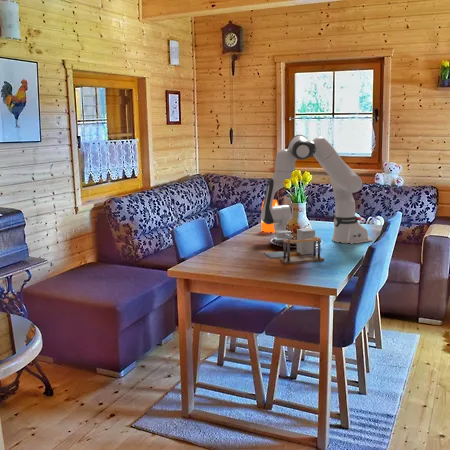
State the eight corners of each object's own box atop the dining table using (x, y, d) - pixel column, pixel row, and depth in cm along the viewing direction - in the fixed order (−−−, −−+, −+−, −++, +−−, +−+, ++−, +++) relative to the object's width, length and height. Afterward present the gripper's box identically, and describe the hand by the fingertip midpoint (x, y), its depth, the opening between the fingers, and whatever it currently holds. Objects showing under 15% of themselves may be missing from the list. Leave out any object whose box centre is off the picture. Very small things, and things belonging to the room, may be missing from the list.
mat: (282, 252, 290) (282, 251, 290) (289, 257, 280) (289, 255, 280) (264, 254, 287) (264, 252, 287) (271, 258, 278) (271, 257, 278)
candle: (304, 227, 354) (304, 196, 350) (283, 226, 357) (283, 196, 353) (305, 225, 361) (305, 194, 357) (284, 224, 364) (284, 194, 360)
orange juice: (266, 229, 350) (266, 198, 346) (279, 230, 345) (279, 198, 341) (261, 231, 343) (261, 199, 339) (274, 232, 339) (274, 200, 335)
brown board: (317, 256, 279) (317, 254, 279) (324, 260, 271) (324, 258, 271) (279, 260, 274) (279, 257, 274) (286, 264, 266) (286, 262, 266)
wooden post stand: (315, 255, 278) (315, 235, 276) (320, 258, 272) (320, 238, 270) (283, 258, 273) (283, 238, 272) (287, 261, 268) (287, 241, 266)
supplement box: (302, 255, 283) (302, 231, 281) (296, 252, 290) (296, 228, 288) (315, 254, 285) (315, 230, 283) (309, 250, 292) (309, 227, 290)
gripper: (271, 227, 305) (280, 231, 292) (305, 224, 310) (316, 229, 297) (271, 238, 307) (280, 243, 293) (305, 235, 312) (316, 240, 299)
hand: (298, 236), depth 295 cm, fingers open, 8 cm apart
